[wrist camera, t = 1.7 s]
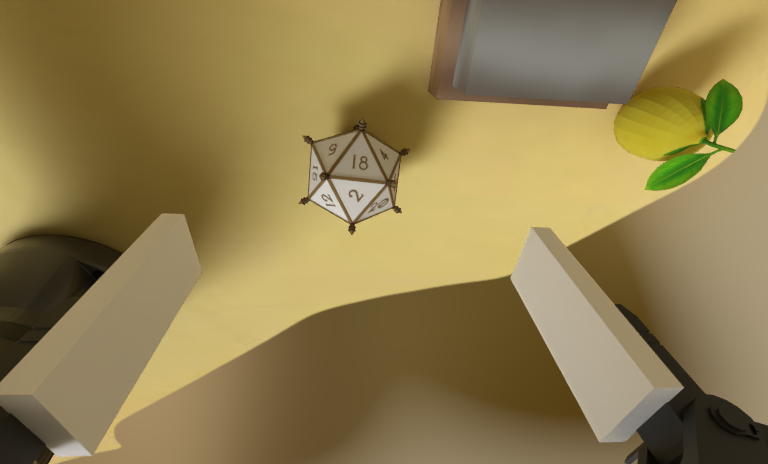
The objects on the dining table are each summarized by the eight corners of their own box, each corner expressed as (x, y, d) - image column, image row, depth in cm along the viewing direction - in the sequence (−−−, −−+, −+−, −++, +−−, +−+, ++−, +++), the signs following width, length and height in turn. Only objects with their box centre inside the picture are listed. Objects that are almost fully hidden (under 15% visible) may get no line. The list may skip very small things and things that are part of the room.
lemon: (592, 158, 32) (678, 210, 24) (585, 103, 29) (682, 141, 21) (663, 125, 31) (779, 167, 23) (664, 63, 28) (800, 87, 19)
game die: (366, 128, 32) (447, 130, 25) (357, 214, 34) (430, 239, 26) (277, 111, 26) (349, 107, 19) (272, 216, 28) (336, 249, 21)
